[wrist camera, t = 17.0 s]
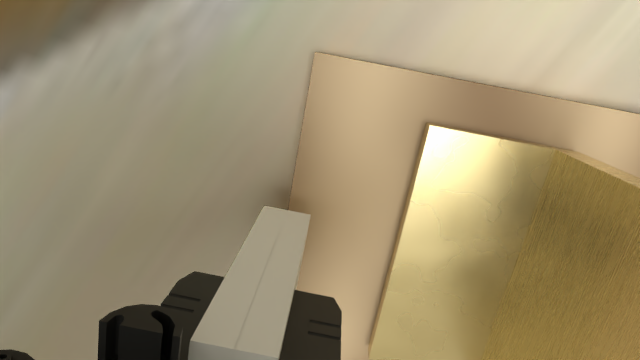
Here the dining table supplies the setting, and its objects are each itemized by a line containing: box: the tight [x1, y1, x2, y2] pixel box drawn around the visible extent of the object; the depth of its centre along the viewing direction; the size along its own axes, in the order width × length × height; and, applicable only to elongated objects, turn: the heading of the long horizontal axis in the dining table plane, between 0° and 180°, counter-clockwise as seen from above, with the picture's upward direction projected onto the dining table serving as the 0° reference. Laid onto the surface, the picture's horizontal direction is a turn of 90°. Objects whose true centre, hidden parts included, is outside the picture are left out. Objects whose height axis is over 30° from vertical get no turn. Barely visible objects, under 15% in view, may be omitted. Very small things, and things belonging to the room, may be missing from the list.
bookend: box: [368, 122, 640, 360], centre depth 11 cm, size 5×9×9 cm, turn 169°
